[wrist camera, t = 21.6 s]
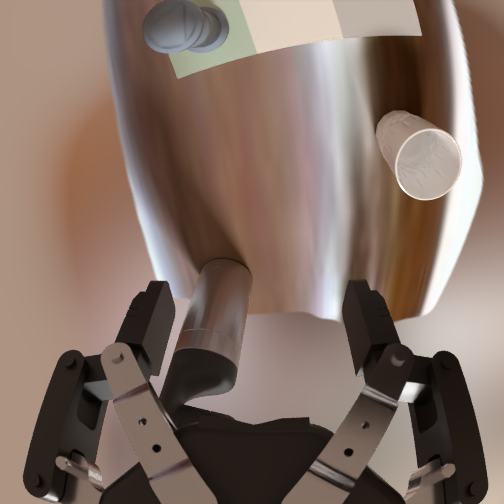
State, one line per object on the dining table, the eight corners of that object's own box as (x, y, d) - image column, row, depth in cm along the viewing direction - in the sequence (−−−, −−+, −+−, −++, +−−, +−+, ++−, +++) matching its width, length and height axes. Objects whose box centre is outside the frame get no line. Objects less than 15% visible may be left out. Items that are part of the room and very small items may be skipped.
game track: (420, 35, 22) (421, 35, 21) (178, 78, 30) (177, 79, 30) (399, -35, 16) (400, -36, 16) (154, 13, 24) (153, 12, 24)
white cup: (411, 95, 27) (448, 115, 20) (433, 147, 31) (469, 181, 23) (359, 122, 31) (382, 149, 23) (386, 171, 35) (410, 212, 27)
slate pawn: (235, 43, 26) (214, 41, 19) (187, 59, 28) (151, 66, 20) (220, 0, 23) (193, -15, 15) (172, 19, 24) (131, 13, 17)
